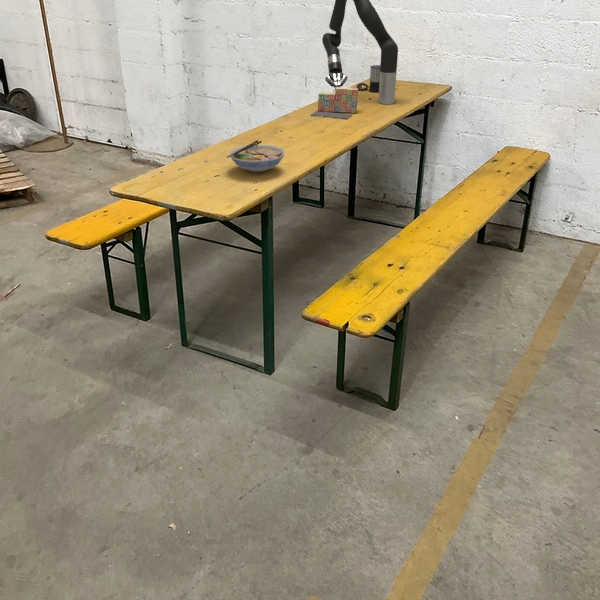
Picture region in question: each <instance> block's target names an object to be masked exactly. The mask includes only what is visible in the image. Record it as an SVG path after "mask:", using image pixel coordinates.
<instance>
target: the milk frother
mask: <svg viewBox="0 0 600 600" xmlns="http://www.w3.org/2000/svg"><path fill="white" fill-rule="evenodd" d="M369 73H370V74H369V75H370V77H369V85H368V84H367V83H364V82H362V83H358V84H357V85H356V88H358V91H367V90H368V91H369V92H371V93H378V94H379V84H380V64H379V65H378V64H376V65H375V64H374V65H370V72H369ZM363 86H364V88H363Z"/></svg>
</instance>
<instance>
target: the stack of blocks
mask: <svg viewBox="0 0 600 600" xmlns="http://www.w3.org/2000/svg"><path fill="white" fill-rule="evenodd" d="M358 93H359V90H358V88H357V87H348V86H347V87H343V86H340V87H336V89H335V88H334V92H320V91H319V92H318V102H317V104H318V105H317V106H318V107H317V111H321V112H332V113H346V114H356V113H357V112H358V111H357V110H358V99H359V97H358V96H359V94H358Z"/></svg>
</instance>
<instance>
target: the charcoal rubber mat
mask: <svg viewBox="0 0 600 600" xmlns="http://www.w3.org/2000/svg"><path fill="white" fill-rule="evenodd" d="M353 114H354V113H343V112H325V111H318V110H316V111H315V112H313V113H311V114H310V115H311V116H310V117H316V116H323V117H322V118H326V117H332V118H331V119H337V118H341V119H340V120H349V119H350V118H351V116H352V115H353ZM349 117H350V118H349ZM352 117H353V116H352ZM348 118H349V119H348Z"/></svg>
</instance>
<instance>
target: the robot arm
mask: <svg viewBox="0 0 600 600" xmlns="http://www.w3.org/2000/svg"><path fill="white" fill-rule="evenodd" d="M347 1H348V0H335V1H334V6H333V9H332V14H331V16H330V21H329V24H328V25H329V26H328V27H329V29H330V30H332V31H334V32H335V33H330V32H325V33H324V34H323V36H322V38H321V39H322V45H323V47H324V50H325V51H326V55H327V68H328V76H325V82H326V83H327V84H328V85H329V86H330V87H331V88H333V87H334V90H335V89H336V87H343V86H344V84H345V83H346V82H347V80H348V76H347V75H345V74H344V73H343V67H342V60H341V55H340V49H339V48H338V47H340V45H341V44H342V27H343V24H344V19H345V15H346V7H347ZM352 1H353V3H354V7H355V10H356V12H357V13H356V14H357V15H358V18H359V19H360V21H361V22H362V24H363V26H364V27H365V28H366V29H367V31H368V32H369V33H370V34H371V35H372V37H373V38H374V39H375V41H376V43H377V44H378V46H379V48H380V64H379V65H380V84H379V92H378V104H381V105H393V104H395V98H396V85H397V70H398V60H399V59H398V58H399V55H398V54H399V47H398V46H399V45H398V44H397V43H396V41H395V40H394V39H393V38H392V36H391V35H390V34H389V32H388V31H387V29H386V27H385V25H384V23H383V21H382V19H381V17H380V15H379V14H378V12H377V10H376V8H375V7H374V5H373V4H372V2H371V1H370V0H352Z"/></svg>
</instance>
